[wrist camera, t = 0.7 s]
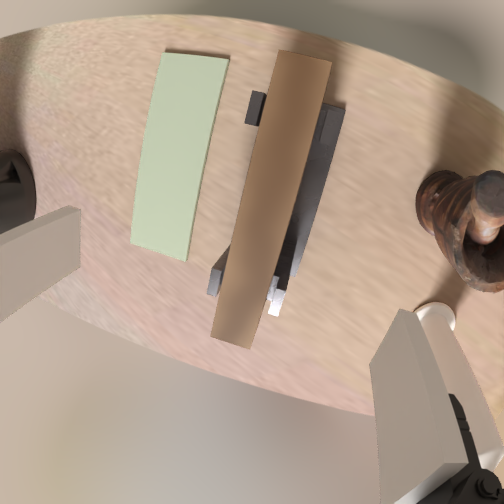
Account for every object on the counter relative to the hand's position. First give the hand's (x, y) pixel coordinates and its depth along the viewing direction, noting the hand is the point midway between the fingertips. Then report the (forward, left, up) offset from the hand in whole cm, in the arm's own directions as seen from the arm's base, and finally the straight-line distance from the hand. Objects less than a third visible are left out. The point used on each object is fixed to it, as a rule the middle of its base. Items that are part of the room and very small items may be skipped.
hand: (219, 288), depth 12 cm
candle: (+23, -11, -24) cm, 35 cm away
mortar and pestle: (+16, +4, -24) cm, 29 cm away
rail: (0, 0, -14) cm, 14 cm away
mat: (-13, 0, -24) cm, 27 cm away
